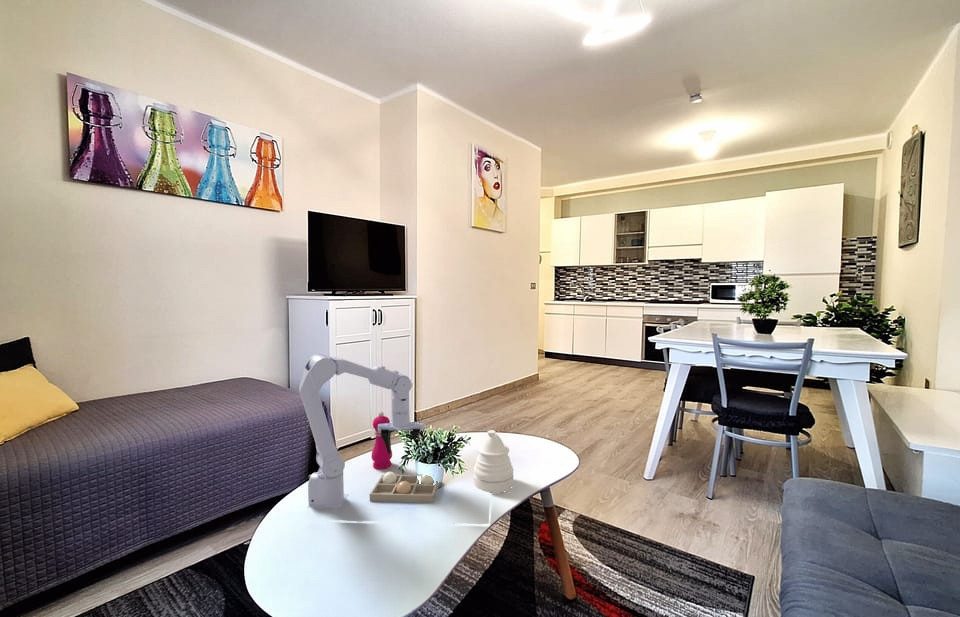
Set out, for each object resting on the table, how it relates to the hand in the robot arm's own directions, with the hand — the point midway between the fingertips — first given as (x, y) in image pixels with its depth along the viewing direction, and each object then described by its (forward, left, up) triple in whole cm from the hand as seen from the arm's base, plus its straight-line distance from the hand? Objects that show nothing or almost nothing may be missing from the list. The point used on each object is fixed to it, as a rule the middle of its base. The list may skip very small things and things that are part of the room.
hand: (401, 452), depth 135 cm
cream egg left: (-3, -3, -10) cm, 11 cm away
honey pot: (+30, +1, -11) cm, 32 cm away
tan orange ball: (+3, -9, -10) cm, 14 cm away
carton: (+3, -6, -10) cm, 12 cm away
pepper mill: (-10, +12, -11) cm, 19 cm away
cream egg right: (+9, -3, -10) cm, 14 cm away
